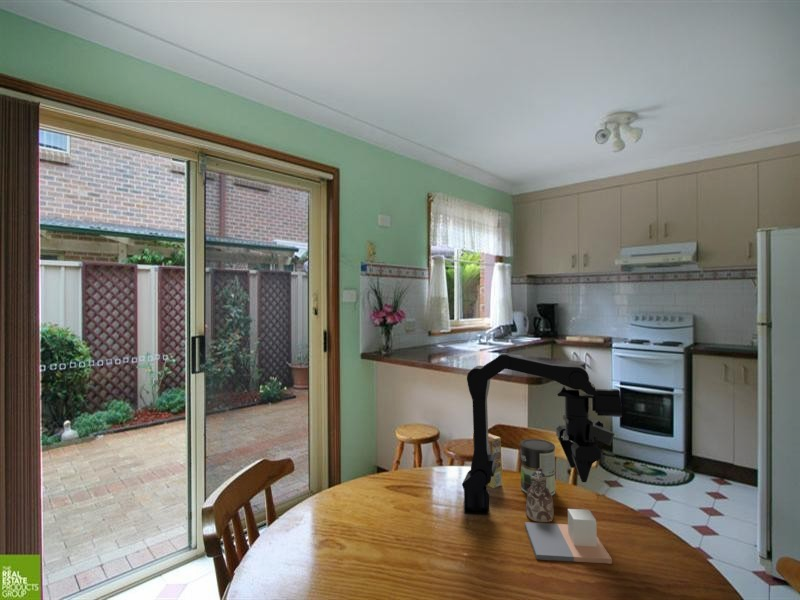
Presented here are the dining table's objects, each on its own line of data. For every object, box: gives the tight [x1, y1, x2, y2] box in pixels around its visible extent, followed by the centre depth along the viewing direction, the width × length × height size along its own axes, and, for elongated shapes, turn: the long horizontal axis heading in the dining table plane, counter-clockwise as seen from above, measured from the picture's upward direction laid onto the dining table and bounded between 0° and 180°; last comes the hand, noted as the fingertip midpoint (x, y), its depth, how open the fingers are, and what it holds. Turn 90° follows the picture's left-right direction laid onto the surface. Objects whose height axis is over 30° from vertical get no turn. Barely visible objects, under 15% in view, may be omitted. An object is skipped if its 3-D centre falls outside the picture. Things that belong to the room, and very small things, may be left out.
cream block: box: [567, 508, 598, 547], centre depth 97 cm, size 5×5×6 cm
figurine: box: [525, 468, 555, 523], centre depth 110 cm, size 7×7×12 cm
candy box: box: [472, 432, 503, 489], centre depth 132 cm, size 9×4×15 cm, turn 33°
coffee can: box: [519, 438, 556, 497], centre depth 126 cm, size 10×10×14 cm
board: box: [524, 521, 613, 565], centre depth 97 cm, size 16×14×1 cm
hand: (578, 474), depth 105 cm, fingers open, 9 cm apart
